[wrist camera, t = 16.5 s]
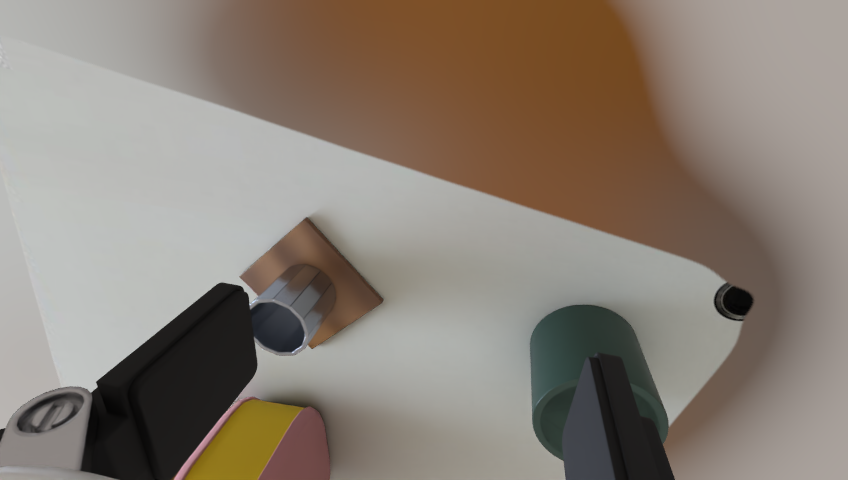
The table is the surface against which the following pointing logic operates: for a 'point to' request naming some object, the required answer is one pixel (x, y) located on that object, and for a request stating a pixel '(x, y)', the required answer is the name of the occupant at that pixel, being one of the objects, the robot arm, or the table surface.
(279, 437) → the alarm clock
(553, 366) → the dark green cylinder
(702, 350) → the table surface
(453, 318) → the table surface
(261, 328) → the cup
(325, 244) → the coaster mat
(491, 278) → the table surface
